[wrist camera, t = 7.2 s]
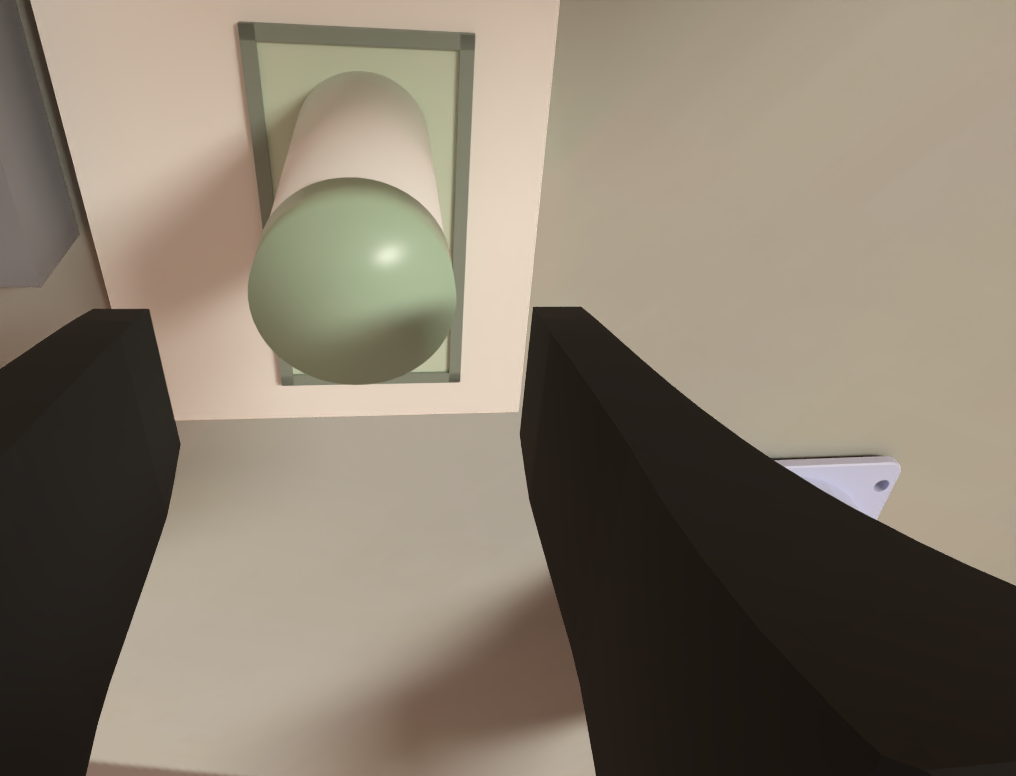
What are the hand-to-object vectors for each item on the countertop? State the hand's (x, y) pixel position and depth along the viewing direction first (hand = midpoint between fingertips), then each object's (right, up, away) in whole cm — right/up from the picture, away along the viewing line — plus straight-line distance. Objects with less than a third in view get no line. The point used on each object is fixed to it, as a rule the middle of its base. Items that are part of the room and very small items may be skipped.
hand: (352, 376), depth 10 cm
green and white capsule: (-1, +5, +7) cm, 9 cm away
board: (-2, +4, +9) cm, 10 cm away
